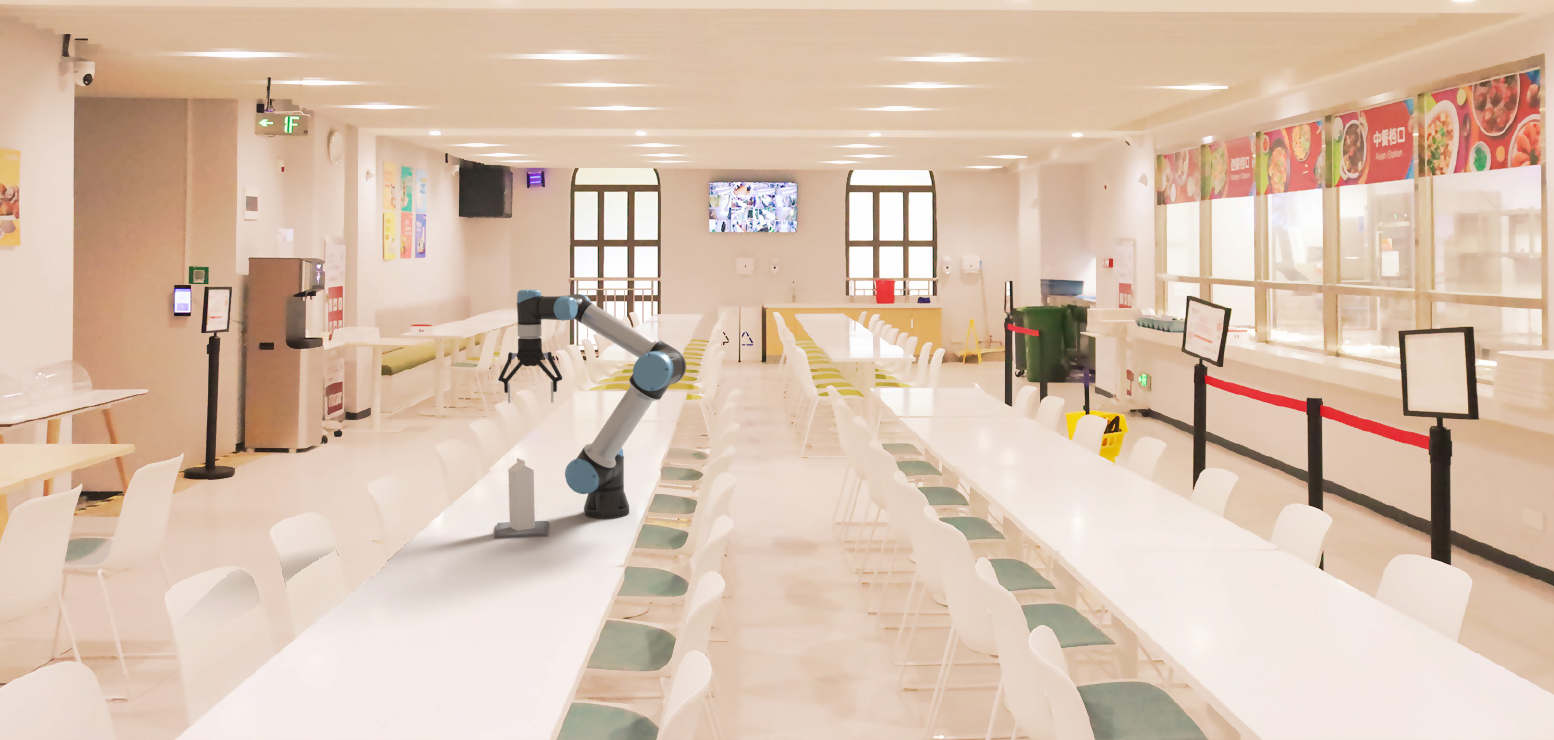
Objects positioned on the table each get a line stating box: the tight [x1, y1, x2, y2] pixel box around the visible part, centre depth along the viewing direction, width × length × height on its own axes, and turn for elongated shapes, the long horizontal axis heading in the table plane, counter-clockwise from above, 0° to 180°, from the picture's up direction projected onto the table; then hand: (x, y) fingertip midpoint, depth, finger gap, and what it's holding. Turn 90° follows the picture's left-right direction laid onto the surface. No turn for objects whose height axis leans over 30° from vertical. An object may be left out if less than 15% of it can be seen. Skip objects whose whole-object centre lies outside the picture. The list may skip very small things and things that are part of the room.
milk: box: [507, 457, 536, 531], centre depth 341 cm, size 6×6×22 cm
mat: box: [493, 520, 549, 539], centre depth 342 cm, size 16×16×1 cm
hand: (531, 402), depth 353 cm, fingers open, 13 cm apart
